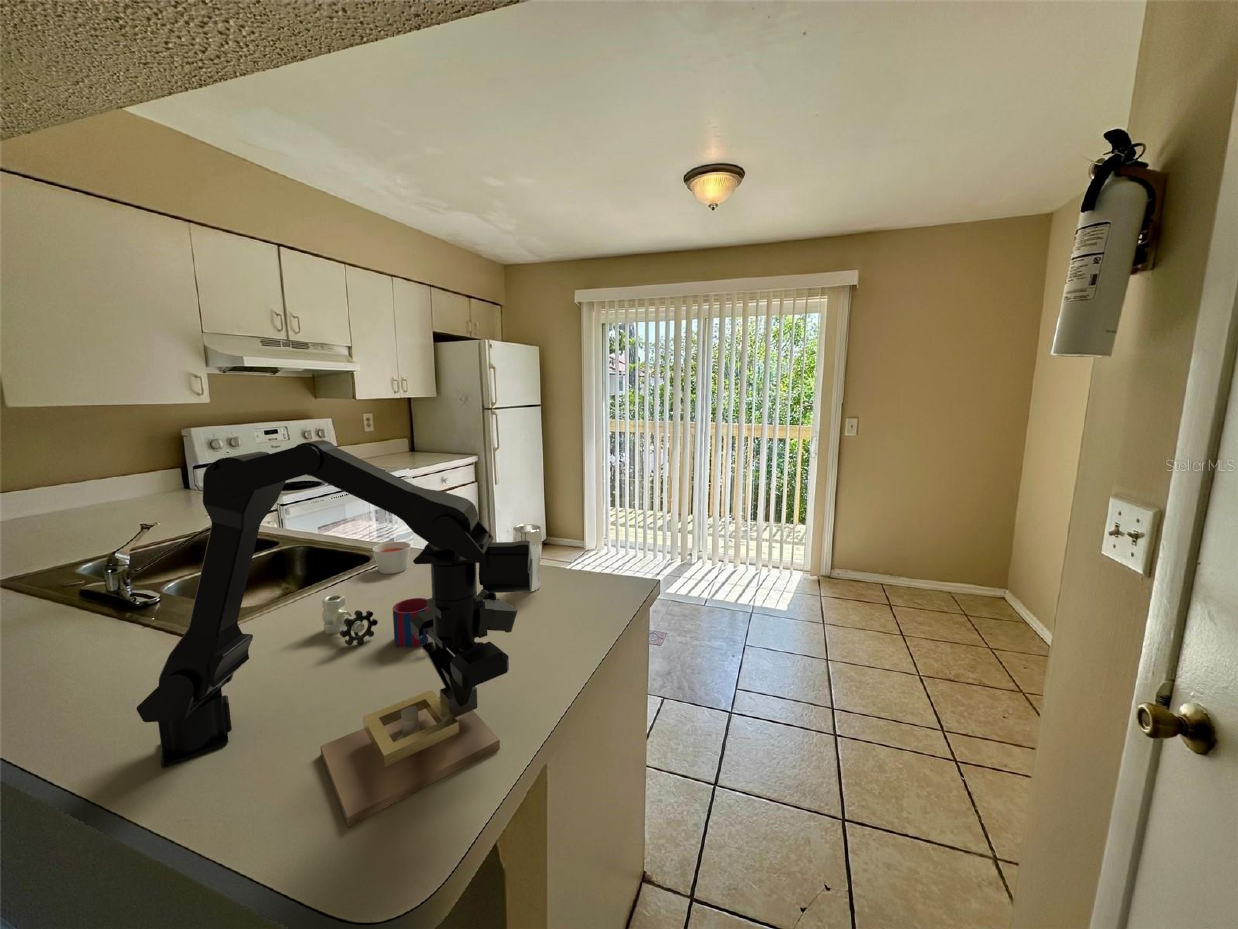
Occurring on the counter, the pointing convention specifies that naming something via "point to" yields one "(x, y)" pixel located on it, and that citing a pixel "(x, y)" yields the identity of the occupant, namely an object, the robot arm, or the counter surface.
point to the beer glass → (531, 547)
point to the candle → (392, 557)
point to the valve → (345, 620)
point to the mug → (408, 622)
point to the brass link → (446, 726)
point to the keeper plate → (400, 762)
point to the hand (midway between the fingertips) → (458, 699)
